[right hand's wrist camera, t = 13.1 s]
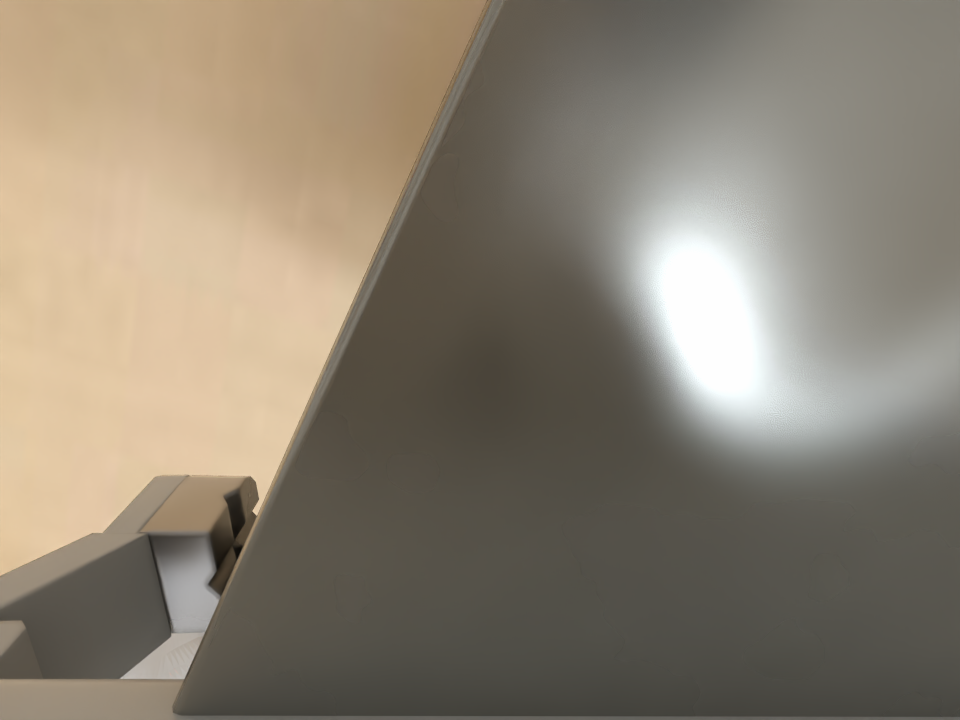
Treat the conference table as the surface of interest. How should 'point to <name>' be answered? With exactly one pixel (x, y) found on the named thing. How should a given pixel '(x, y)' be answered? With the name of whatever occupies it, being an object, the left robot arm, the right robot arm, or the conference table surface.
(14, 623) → the right robot arm
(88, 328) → the conference table surface
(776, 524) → the box
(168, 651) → the red white angular piece
